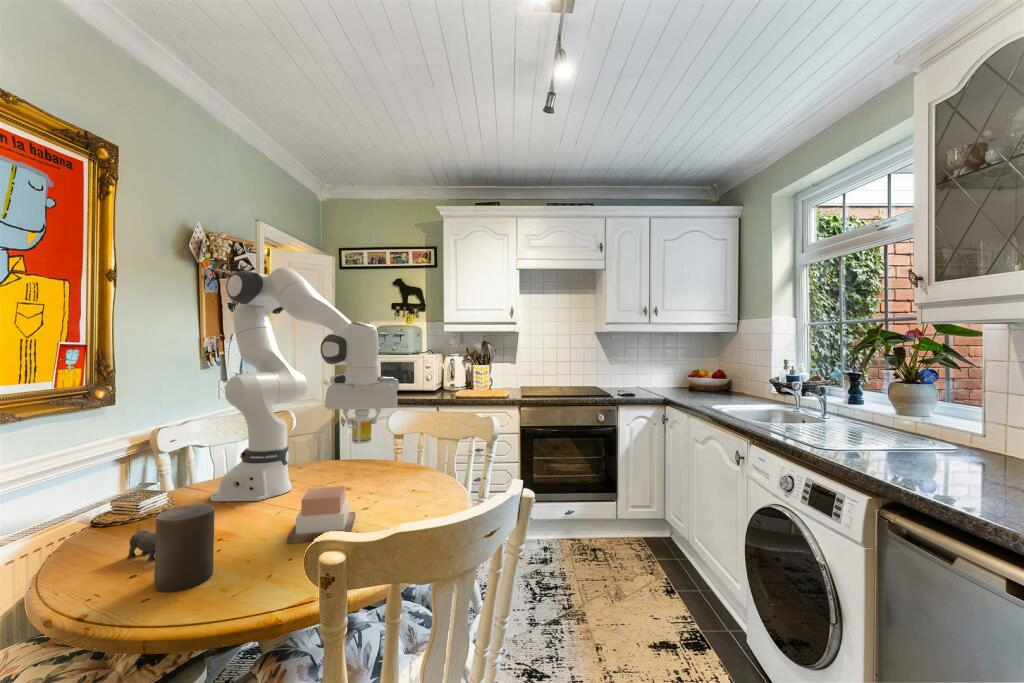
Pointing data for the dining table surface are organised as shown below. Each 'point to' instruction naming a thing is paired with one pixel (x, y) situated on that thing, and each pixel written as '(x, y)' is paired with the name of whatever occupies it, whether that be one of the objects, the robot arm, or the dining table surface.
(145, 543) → the rhino figurine
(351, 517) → the baseplate
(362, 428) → the supplement bottle
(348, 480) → the dining table surface
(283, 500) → the dining table surface
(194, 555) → the pillar candle
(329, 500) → the pink white stepped block
